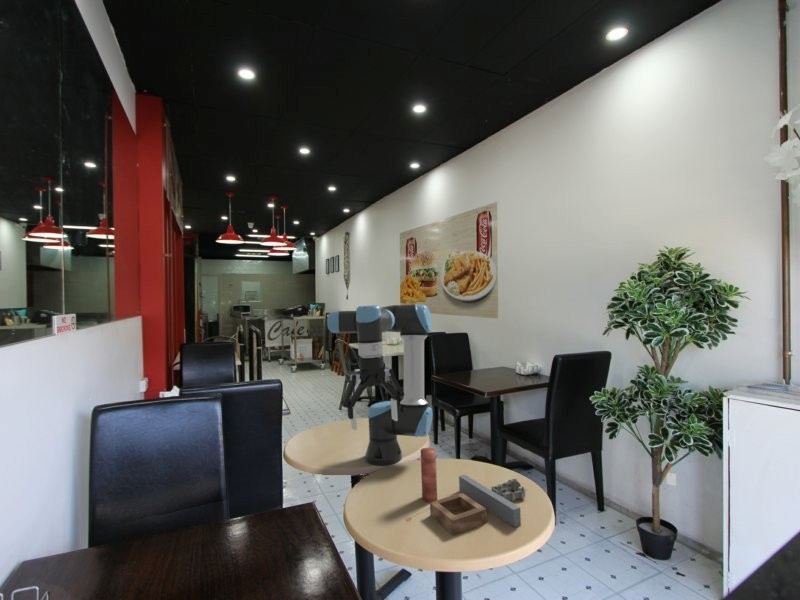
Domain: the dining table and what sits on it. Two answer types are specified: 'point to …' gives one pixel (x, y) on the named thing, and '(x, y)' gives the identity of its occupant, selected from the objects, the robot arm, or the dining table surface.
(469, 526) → the socket block
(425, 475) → the dowel
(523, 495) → the grey rough frame
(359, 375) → the robot arm
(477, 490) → the backstop wall
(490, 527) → the dining table surface
